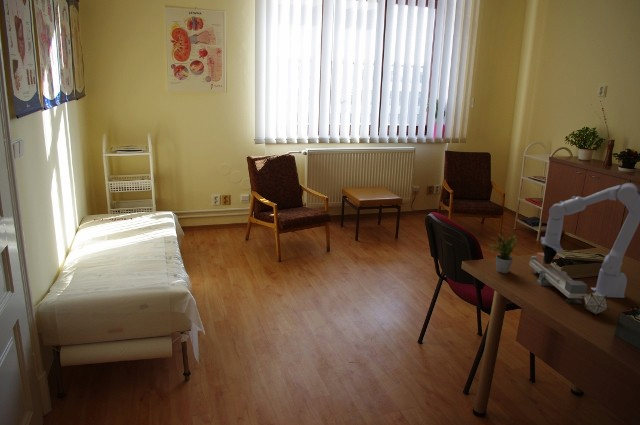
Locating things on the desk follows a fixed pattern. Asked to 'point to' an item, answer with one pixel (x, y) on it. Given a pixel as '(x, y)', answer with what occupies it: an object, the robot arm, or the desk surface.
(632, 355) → the desk surface
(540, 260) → the block
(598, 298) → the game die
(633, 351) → the desk surface
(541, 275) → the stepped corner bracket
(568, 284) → the beam
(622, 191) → the robot arm
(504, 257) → the house plant
